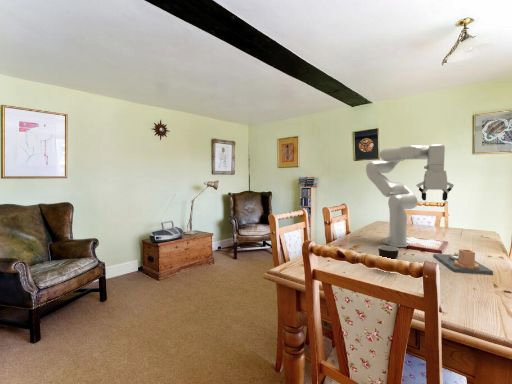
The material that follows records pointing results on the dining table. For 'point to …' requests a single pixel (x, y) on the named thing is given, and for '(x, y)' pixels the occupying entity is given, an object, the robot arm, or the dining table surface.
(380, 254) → the coffee mug
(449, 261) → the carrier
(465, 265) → the hollow square star tube
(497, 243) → the dining table surface
